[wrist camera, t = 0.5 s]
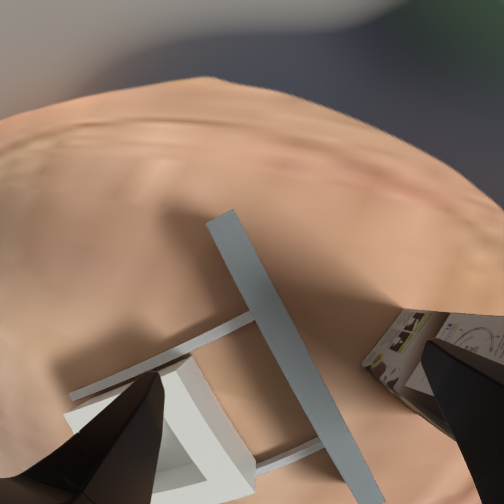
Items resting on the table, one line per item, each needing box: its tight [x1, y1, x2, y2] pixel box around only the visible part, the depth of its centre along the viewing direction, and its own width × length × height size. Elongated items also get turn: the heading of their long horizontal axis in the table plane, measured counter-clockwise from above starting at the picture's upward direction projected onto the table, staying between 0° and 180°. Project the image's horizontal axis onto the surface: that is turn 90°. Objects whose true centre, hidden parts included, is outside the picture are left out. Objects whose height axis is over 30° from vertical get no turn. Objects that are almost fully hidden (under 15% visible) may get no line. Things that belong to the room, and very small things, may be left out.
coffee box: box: [361, 309, 504, 441], centre depth 14 cm, size 9×6×16 cm
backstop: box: [68, 209, 386, 504], centre depth 20 cm, size 26×21×5 cm
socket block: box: [63, 356, 256, 504], centre depth 19 cm, size 11×11×5 cm
